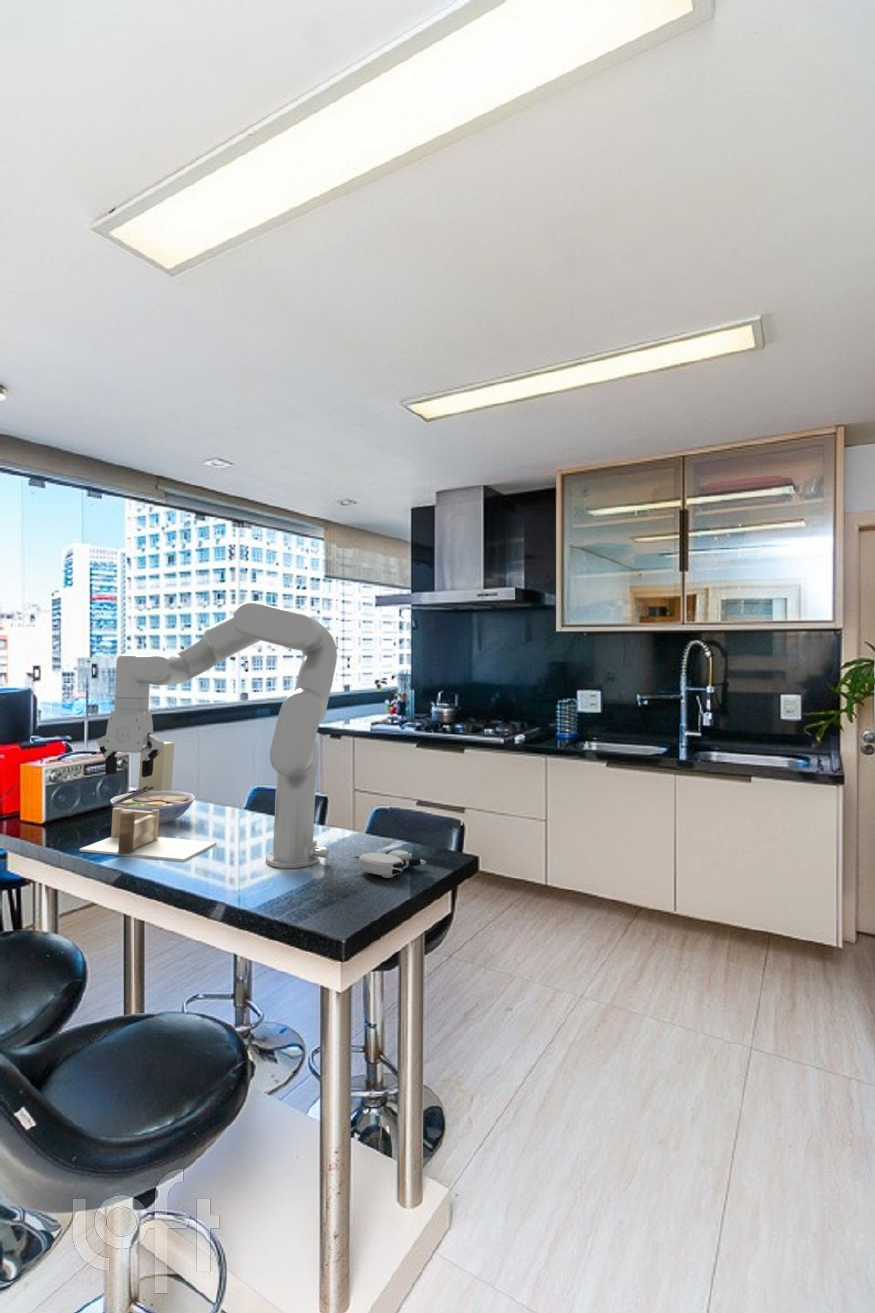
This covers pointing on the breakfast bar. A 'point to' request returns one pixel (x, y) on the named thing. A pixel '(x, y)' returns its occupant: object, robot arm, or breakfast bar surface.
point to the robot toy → (387, 862)
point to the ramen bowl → (156, 802)
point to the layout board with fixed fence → (152, 849)
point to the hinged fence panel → (134, 831)
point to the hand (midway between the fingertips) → (128, 775)
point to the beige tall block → (159, 770)
